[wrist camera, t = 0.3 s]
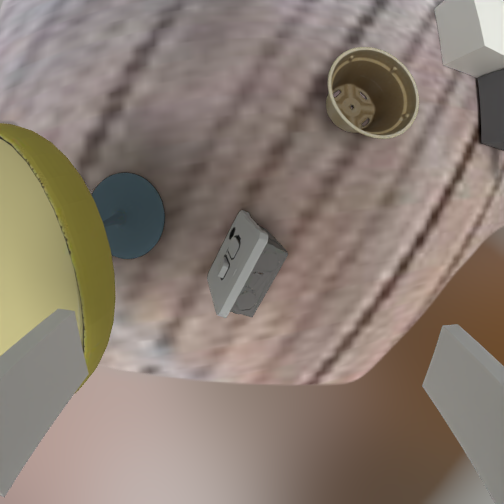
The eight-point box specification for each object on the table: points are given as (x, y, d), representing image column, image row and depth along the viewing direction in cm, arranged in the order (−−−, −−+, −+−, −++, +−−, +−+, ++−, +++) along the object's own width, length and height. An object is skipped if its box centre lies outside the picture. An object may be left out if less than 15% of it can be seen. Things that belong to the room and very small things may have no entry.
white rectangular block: (434, 8, 28) (468, -18, 18) (514, 47, 28) (551, 35, 18) (443, 65, 30) (484, 45, 21) (523, 99, 30) (563, 93, 21)
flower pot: (325, 59, 31) (343, 31, 23) (394, 91, 32) (427, 74, 24) (301, 126, 34) (315, 113, 25) (373, 157, 34) (405, 154, 26)
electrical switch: (240, 207, 36) (244, 224, 27) (279, 227, 37) (295, 249, 28) (206, 276, 38) (200, 311, 29) (244, 292, 39) (248, 331, 30)
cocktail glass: (222, 243, 37) (165, 369, 13) (111, 306, 40) (3, 425, 15) (148, 114, 33) (2, 53, 9) (47, 195, 36) (-101, 232, 12)
